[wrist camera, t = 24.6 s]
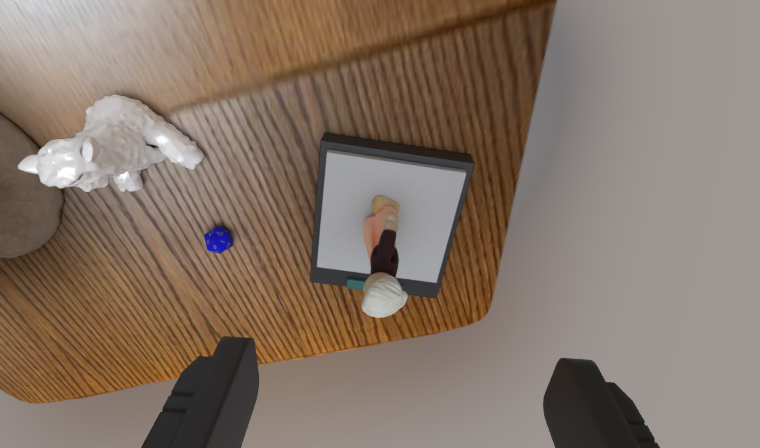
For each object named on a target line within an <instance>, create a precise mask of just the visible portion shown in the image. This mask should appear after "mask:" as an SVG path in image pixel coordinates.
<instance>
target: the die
mask: <svg viewBox="0 0 760 448" xmlns="http://www.w3.org/2000/svg"><path fill="white" fill-rule="evenodd" d="M204 237H205V241H206V246H207V250H209V251H212V252H216V253H219V254H220V253H222V252H224V251H225V250H227V249H228V248H230V247H232V246H233V243H232V239H231V234H230V231H228V230H226V229H223V228H220V227H216V228H215V229H213V230H211V231H210V232H208V233H207V234H205V235H204Z"/></svg>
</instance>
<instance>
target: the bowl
mask: <svg viewBox="0 0 760 448" xmlns="http://www.w3.org/2000/svg"><path fill="white" fill-rule="evenodd" d="M38 152H39V148H38V147H37V146H36V145H35V143H34V142H33V141H32V140H31V139H30V138H29V137H28V136H27V135H26V134H25V133H24V132H22V131H21V130H20V129H19V128H18V127H17V126H15V125H14V124H13V123H12V122H10V121H9V120H8V119H7V118H5V117H4V116H3V115H1V114H0V259H1V258H14V257H18V256H22V255H24V254H27V253H30V252H33V251H35V250H37V249H38V248H40V247H41V246H42V245H44V244H45V243H46V242H47V241H48V240H49V239H50V238H51V237H53V236H54V234H55V232H56V230H57V228H58V226H59V223H60V221H61V215H60V212H61V208H62V206H63V203H64V199H63V194H62V190H61V188H58V187H57V186H52V187H49V186H47V185H45V184H43V183H41V181H40V178H39V174H34V173H29V172H25V171H23V170H20V169H18V165H19V163H20V162H21V161H22V160H23V159H24V158H26V157H27V156H30V155H37V154H38Z"/></svg>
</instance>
